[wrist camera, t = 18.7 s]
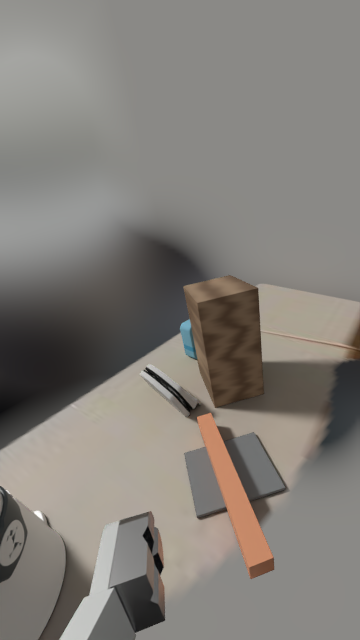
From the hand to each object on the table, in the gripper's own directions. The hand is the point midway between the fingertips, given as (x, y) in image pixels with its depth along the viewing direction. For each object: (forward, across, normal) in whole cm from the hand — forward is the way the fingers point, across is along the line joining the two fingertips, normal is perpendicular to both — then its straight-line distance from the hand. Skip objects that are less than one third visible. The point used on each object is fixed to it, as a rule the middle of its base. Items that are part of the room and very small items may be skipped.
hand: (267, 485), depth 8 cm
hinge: (+46, -7, -22) cm, 51 cm away
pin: (+23, 0, -26) cm, 35 cm away
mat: (+25, +2, -26) cm, 36 cm away
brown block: (+46, +9, -23) cm, 52 cm away
